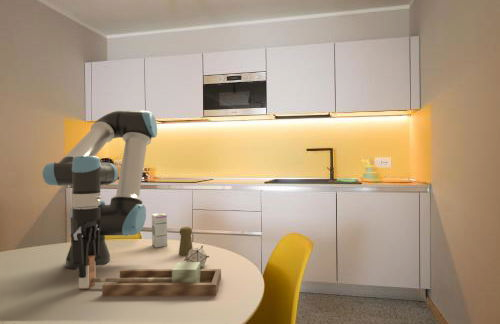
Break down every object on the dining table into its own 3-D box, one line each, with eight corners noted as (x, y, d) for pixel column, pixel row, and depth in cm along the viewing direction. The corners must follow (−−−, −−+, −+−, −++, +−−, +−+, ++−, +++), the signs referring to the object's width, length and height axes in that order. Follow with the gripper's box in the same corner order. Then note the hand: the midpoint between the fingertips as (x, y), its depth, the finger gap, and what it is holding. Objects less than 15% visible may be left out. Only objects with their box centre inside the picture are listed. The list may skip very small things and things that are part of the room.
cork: (179, 251, 135) (179, 226, 135) (194, 251, 136) (193, 225, 136) (177, 255, 129) (177, 228, 129) (192, 255, 130) (192, 228, 130)
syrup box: (167, 245, 145) (167, 214, 145) (155, 247, 142) (154, 215, 142) (164, 243, 150) (163, 212, 150) (151, 245, 147) (151, 213, 147)
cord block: (75, 291, 91) (75, 260, 91) (88, 282, 98) (88, 253, 98) (196, 291, 91) (196, 260, 91) (200, 281, 98) (200, 253, 98)
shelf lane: (102, 299, 88) (102, 285, 88) (121, 281, 101) (121, 269, 101) (216, 299, 88) (216, 284, 88) (221, 281, 101) (220, 268, 101)
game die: (199, 281, 111) (202, 264, 105) (178, 271, 113) (180, 253, 107) (211, 262, 118) (214, 245, 112) (190, 253, 120) (193, 235, 114)
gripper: (85, 211, 87) (85, 296, 87) (111, 203, 103) (111, 275, 103) (58, 211, 87) (58, 296, 87) (88, 203, 103) (88, 275, 103)
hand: (87, 285), depth 95 cm, fingers closed on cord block, 3 cm apart
